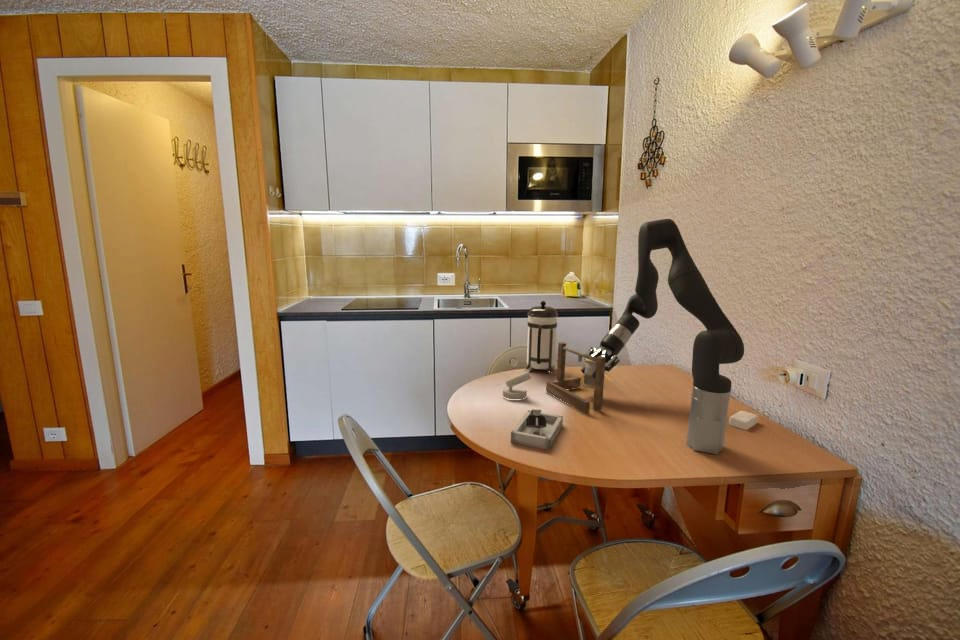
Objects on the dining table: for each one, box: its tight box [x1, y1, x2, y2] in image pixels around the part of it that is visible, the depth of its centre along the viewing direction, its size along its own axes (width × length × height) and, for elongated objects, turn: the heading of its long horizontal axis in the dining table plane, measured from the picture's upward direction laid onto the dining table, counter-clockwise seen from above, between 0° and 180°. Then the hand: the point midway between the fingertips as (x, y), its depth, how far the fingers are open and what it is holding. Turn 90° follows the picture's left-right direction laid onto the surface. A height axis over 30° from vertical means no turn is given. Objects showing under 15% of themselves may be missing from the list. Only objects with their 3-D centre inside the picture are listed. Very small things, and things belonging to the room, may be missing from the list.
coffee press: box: [525, 300, 559, 374], centre depth 186 cm, size 17×16×30 cm
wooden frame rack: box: [545, 341, 606, 415], centre depth 155 cm, size 15×22×18 cm, turn 27°
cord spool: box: [582, 358, 596, 390], centre depth 157 cm, size 6×6×10 cm
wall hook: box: [502, 370, 532, 399], centre depth 157 cm, size 9×10×10 cm
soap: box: [728, 410, 759, 431], centre depth 138 cm, size 9×6×3 cm, turn 129°
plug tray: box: [510, 410, 564, 450], centre depth 129 cm, size 17×11×3 cm, turn 157°
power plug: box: [527, 408, 546, 436], centre depth 130 cm, size 6×8×12 cm
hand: (588, 374), depth 157 cm, fingers closed on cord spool, 5 cm apart
